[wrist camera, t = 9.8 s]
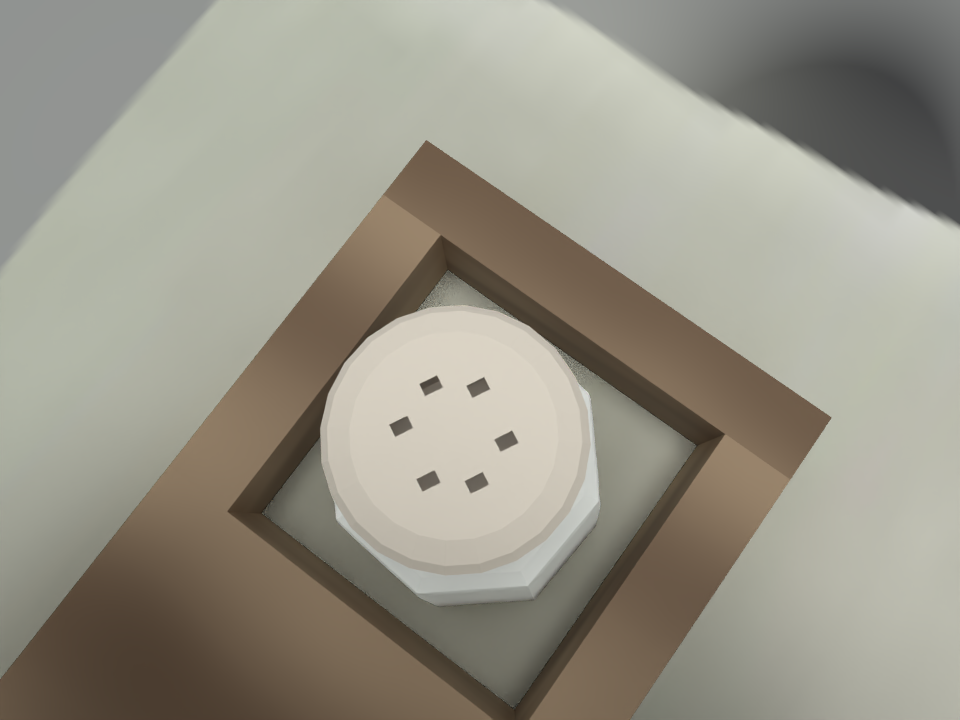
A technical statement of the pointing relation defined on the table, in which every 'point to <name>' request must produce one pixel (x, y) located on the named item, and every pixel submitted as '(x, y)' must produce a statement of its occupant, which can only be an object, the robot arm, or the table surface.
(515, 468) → the pepper shaker
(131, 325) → the table surface
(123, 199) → the table surface
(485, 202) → the wooden tray
